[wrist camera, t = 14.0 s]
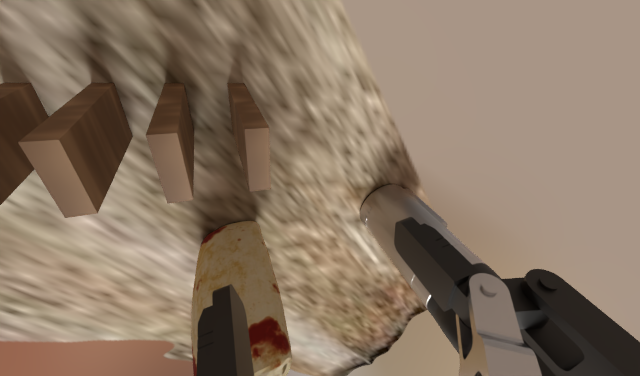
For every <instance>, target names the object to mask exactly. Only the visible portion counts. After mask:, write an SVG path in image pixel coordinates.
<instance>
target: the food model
mask: <svg viewBox="0 0 640 376" xmlns="http://www.w3.org/2000/svg"><path fill="white" fill-rule="evenodd" d="M230 284H232V285H233V287H234V289H235V290H236V292H237V294H238V295H239V297H240V299H241V300H242V302H243V305H244V308H245V311H246V317H247V324H248V332H249V340H250V347H251V355H252V362H253V370H254V376H286V375H287V374H288V372H289V370H290V366H291V363H292V355H291V346H290V341H289V336H288V331H287V326H286V321H285V315H284V309H283V305H282V301H281V296H280V292H279V288H278V284H277V281H276V278H275V275H274V272H273V268H272V264H271V260H270V257H269V253H268V250H267V247H266V245H265V242H264V240H263V237H262V234H261V229H260V226H259V224H258V223H257V222H255V221H243V222H237V223H232V224H229V225H225V226H223V227H221V228H219V229H217V230H215V231H214V232H212V233H210V234H208V235H207V236H206V237H205V239H204V240H203V242H202V244H201V248H200V251H199V255H198V261H197V268H196V275H195V282H194V289H193V298H192V311H191V319H192V330H191V339H192V354H193V370H194V376H197V351H198V349H197V340H198V337H197V336H198V321H199V319H200V316H201V314H202V311H203V309H204V308H207V307H210V306H212V305H213V304H212V293H213V291H214V290H217V289H219V288H222V287H224V286H227V285H230Z"/></svg>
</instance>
